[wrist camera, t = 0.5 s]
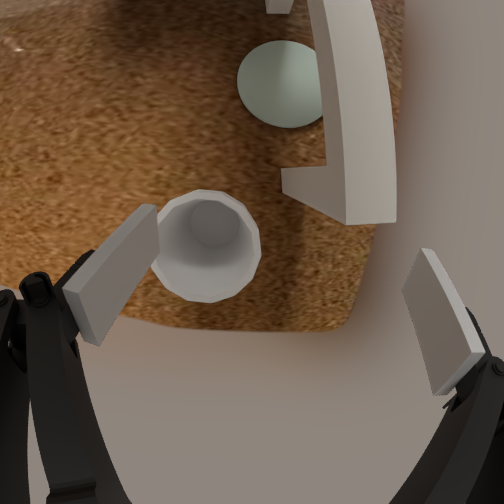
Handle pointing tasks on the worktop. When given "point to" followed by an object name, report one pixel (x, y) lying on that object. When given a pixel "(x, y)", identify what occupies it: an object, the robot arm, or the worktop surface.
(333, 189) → the keeper arch
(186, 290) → the foam cup
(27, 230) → the worktop surface
